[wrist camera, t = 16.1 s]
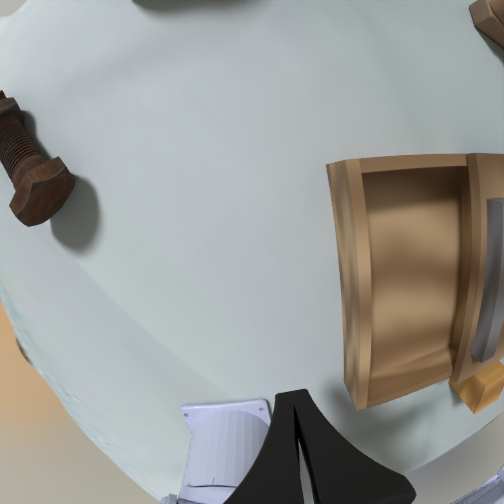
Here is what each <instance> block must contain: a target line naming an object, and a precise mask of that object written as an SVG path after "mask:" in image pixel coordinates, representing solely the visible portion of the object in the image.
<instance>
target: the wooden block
mask: <svg viewBox="0 0 504 504" xmlns="http://www.w3.org/2000/svg"><path fill="white" fill-rule="evenodd" d="M469 9H470V12H471V16H472V19H473V22H474V25H475V27H476V28H478V29H479V30H481V31H482V32H483V33H485V34H486V35H487V36H489V37H490V38H491V39H493V40H494V41H495V42H496V43H498V44H499V45H500V46H501V47H503V48H504V0H491V1H490V0H477V1H476V2H474V3H473V4H471V5H470V6H469Z"/></svg>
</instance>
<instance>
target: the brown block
mask: <svg viewBox="0 0 504 504" xmlns="http://www.w3.org/2000/svg"><path fill="white" fill-rule="evenodd" d="M449 385H450V386H451V387H452V388H453V389H454V390H455V392H456V393H457V394H458V395H459V396H460V398H461V399H462V400H463V401H464V402H465V404H466V405H467V406H468V407H469V409H470V410H471V411H472V412H473V414H475V413H477V412H479V411H480V410H482V409H483V408H485V407H487V406H488V405H490V404H491V403H493V402H494V401H496V400H497V399H498V398H499V396H500V394H501V392H502V389H503V387H504V365H503V364H502V363H501V362H500V361H497V362H495V363H493V364H492V365H490V366H488V367H487V368H485V369H483V370H482V371H480V372H478V373H476V374H474V375H473V376H471V377H469V378H467V379H465V380H463V381H461V382H460V383H458V384H457V383H456V382H455V381H454V380H453V379H452V376H450V380H449Z"/></svg>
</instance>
